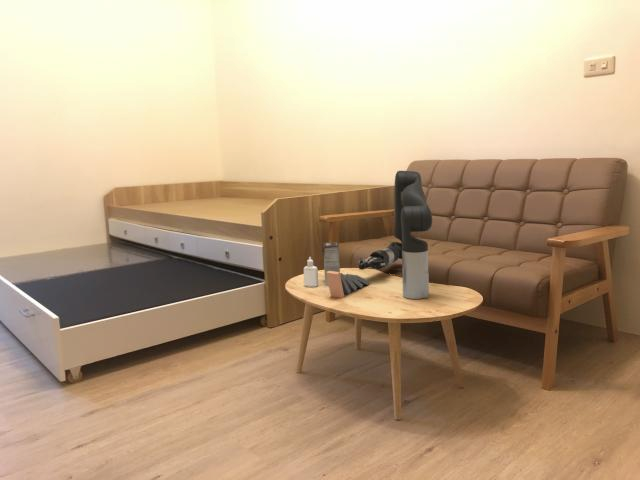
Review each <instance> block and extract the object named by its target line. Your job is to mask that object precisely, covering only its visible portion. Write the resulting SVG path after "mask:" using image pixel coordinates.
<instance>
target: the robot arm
mask: <svg viewBox="0 0 640 480" xmlns="http://www.w3.org/2000/svg"><path fill="white" fill-rule="evenodd" d="M432 225H433V214H432V211H431V208H430V206H429V205H428V203H427V199H426V194H425V192H424V190H423V185H422V176H421V174H420V173H419V172H418V171H413V170H398V171H396V173H395V176H394V227H393V228H394V229H393V236H394V238H396V239H397V240H399V241H400V242H399V241H392V242H391V243H389V245H388V246H387V247H385V248H381V249H378V250H375V251H372V252H371V254H370V255H369V256H368V257H366V258H365V259H364V258H362V257H359V258H358V269H359V270H366V269H370V268H371V269H375V270H376V269H377V270H380V269H383V268H385V267H387V266H390V265H391V264H392V263H395V262H397V261H398V260H401V261H402V296H403V297H404V298H406V299H411V300H422V299H428V298H430V294H429V292H430V291H429V288H430V287H429V285H430V284H429V283H430V282H429V277H430V276H429V246H428V245H429V244H428V242H427V241H426V240H423V239H419V238H418V237H415V236H414V235H412V234H411V233H412V232H413V233H414V232H416V233H417V232H419V233H420V232H422V233H424V232H427V231H429V230H430V229H431V228H432Z"/></svg>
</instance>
